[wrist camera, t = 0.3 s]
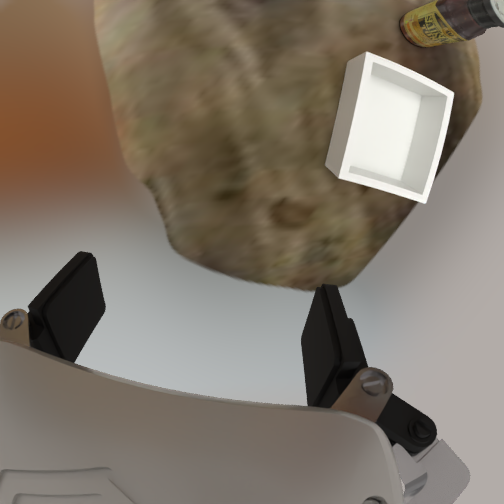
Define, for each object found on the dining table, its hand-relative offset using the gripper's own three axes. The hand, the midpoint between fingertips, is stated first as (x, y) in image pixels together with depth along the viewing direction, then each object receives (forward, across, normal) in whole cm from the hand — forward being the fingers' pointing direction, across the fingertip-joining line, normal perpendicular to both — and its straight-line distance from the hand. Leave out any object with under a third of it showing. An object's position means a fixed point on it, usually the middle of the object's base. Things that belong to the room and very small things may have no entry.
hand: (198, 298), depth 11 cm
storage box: (+31, -18, -8) cm, 37 cm away
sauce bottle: (+31, -22, -26) cm, 47 cm away
